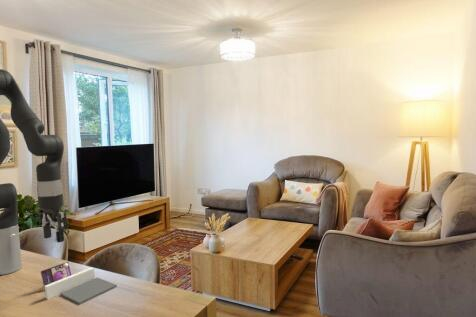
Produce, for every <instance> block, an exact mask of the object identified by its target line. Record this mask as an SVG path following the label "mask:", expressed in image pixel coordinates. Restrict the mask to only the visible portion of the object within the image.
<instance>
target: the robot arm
mask: <svg viewBox="0 0 476 317" xmlns="http://www.w3.org/2000/svg"><path fill="white" fill-rule="evenodd" d="M0 96H4V97H6V99H8V101H9V102H10V105H11V106H10V118H11V120H12V122H13V123H14V125H15V126H16V127H17V129H18V130H19V132H21V134H22V136H23V139H24V142H25V144H26V148H27V150H28V152H29V153H31V155H34V156H35V157H45V161H44V162H41V163H38V165H36V168H35V170H36V171H35V172H36V194H37V205H38V224H39V226H41V228H42V230H43V238H44V239H49V238H52V227H53V228H54V229H55V237H56V242H57V243H62V242H64V241H65V234H64V231H65V230H67V229H68V220H67V219H68V218H67V212H66V211H61V209H60V208H62V207H63V206H64V194H63V193H64V192H63V183H62V177H61V164H62V160H63V155H64V148H65V147H64V146H65V145H64V142H63V139H62V138H61V137H60V136H59V135H57V134H43V133H44V131H45V125H44V123H43V122H42V120H41V119H40V118H39V117H38V116H37V114H36V113H35V112H34V110H33V109H32V108H31V107H30V105H29V103H28V102H27V100H26V98H25V96H24V94H23V92H22V90H21V88H20V87H19V84H18V83H17V81H16V79H15V78H14V76H13V75H12V74H11V73H10V72H9V71H7V70H5V69H0ZM10 134H11V133H10V131H9V128H8V126H7V125H6V124H5V122H4V121H3V120H2V119H1V118H0V166H1V165H2V164H3V162H4V161H5V160H6V159H7V157H8V155H9V153H10V151H11V136H10ZM3 209H4V210H3ZM0 210H3V211H2V212H1V213H0V276H3V275H4V276H5V275H9V274H11V273H12V274H13V273H15V272H17V271H20V269H22V266H23V265H22V253H21V252H22V251H21V241H20V240H21V239H20V230H19V213H18V190H17V188H16V185H14V183H10V182H9V183H8V182H7V183H0Z"/></svg>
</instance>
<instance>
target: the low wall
mask: <svg viewBox="0 0 476 317" xmlns="http://www.w3.org/2000/svg"><path fill="white" fill-rule="evenodd" d="M95 275H96V274H95V268H94V267H92V266H91V267H89V268H86V269H84V270H81V271H79V272H75V273H74V274H71V276H66V277H63V278H62V279H61V280H58V281H56V282H53V283H51V284H48V285H45V289H44V295H45V299H47V300H50V299H52V298H55V297H57V296H59V295H60V293H62V292H64V291H67V290H69V289H71V288H74V287H76V286H78V285H81V284H83V283H86V282H88V281H90V280H93V279H95V278H96V277H95Z"/></svg>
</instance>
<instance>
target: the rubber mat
mask: <svg viewBox="0 0 476 317" xmlns="http://www.w3.org/2000/svg"><path fill="white" fill-rule="evenodd" d="M117 285H118V284H115V283H112V282H110V281H107V280H105V279H102V278H99V277H95V279H93V280H90V281H88V282H86V283H83V284H81V285H78V286H76V287H74V288H71V289H69V290H67V291H64V292H62V293H60V294H59V295H60V296H62V297H63V298H66V299H67V300H70V301H72V302H74V303H76V304H77V305H81V304H83V303H86V302H88V301H89V300H90V301H91V300H93V299H94V298H96V297H98V296H101V295H102V294H105V293H107V292H109V291H111V290H113V289H115V288H117Z"/></svg>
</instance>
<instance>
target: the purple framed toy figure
mask: <svg viewBox="0 0 476 317" xmlns="http://www.w3.org/2000/svg"><path fill="white" fill-rule="evenodd" d="M64 268H65V271H66V272H64V270H63V269H64ZM52 269H54V270H56V271H55V272H54V273H53V271H52ZM40 275H41V278H42V279H41V280H42V283H43V287H44V290H45V285H48V284H51V283H53V282H56V281H58V280H61V279H63V278H64V277H65V275H67V276H66V277H68V276H71V275H72V272H71V268H70V264H69V262H68V261H67V262H63V263H60V264H58V265H55V266H51V267H50V268H49V267H48V268H47V269H43V270H41V271H40Z"/></svg>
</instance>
